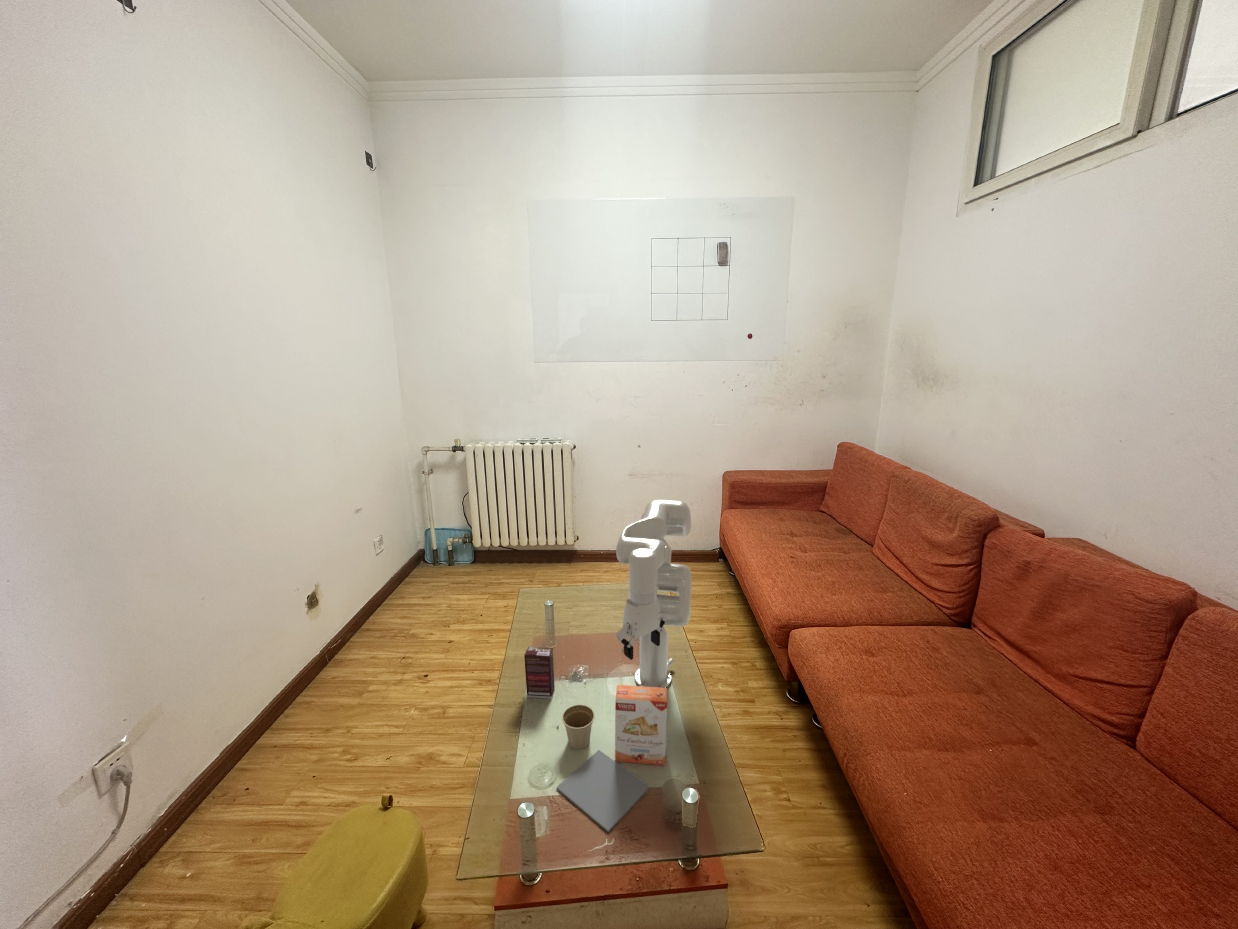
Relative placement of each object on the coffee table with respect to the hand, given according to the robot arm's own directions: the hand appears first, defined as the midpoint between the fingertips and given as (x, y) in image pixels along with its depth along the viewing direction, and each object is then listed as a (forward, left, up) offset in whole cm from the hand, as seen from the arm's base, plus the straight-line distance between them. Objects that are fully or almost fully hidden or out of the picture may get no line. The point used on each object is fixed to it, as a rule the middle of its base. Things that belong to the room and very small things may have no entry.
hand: (642, 650), depth 135 cm
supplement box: (+6, -38, -30) cm, 49 cm away
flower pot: (+12, -14, -30) cm, 35 cm away
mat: (+19, +2, -30) cm, 35 cm away
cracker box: (+4, +3, -30) cm, 31 cm away
